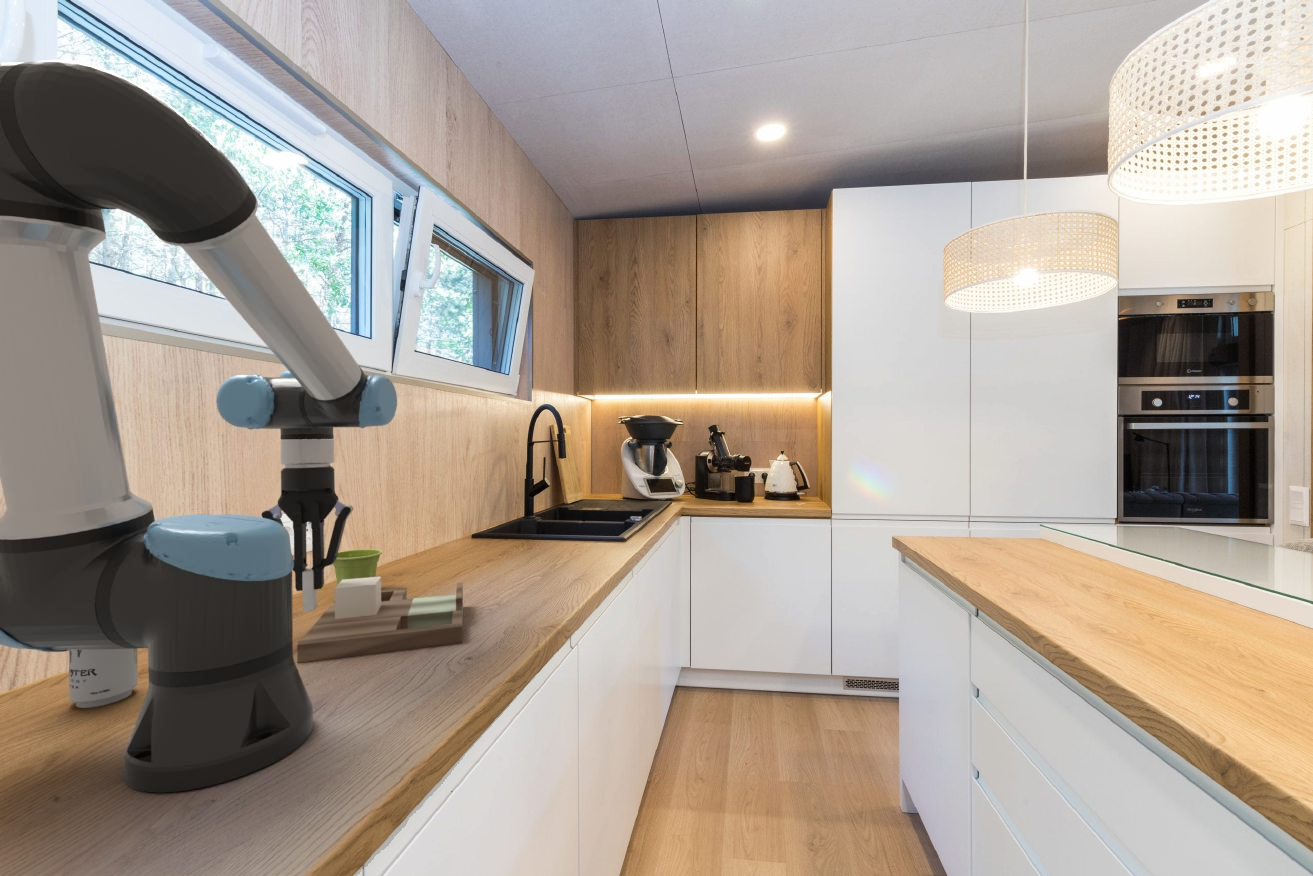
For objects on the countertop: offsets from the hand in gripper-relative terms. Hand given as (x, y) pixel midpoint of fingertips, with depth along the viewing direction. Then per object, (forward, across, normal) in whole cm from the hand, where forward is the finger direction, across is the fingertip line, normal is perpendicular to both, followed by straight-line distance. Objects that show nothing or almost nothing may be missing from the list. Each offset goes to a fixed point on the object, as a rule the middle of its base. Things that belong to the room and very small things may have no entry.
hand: (310, 609), depth 93 cm
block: (+1, -7, 0) cm, 7 cm away
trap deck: (+4, -12, 0) cm, 13 cm away
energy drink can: (+4, +18, +19) cm, 26 cm away
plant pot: (+4, -3, -22) cm, 23 cm away
